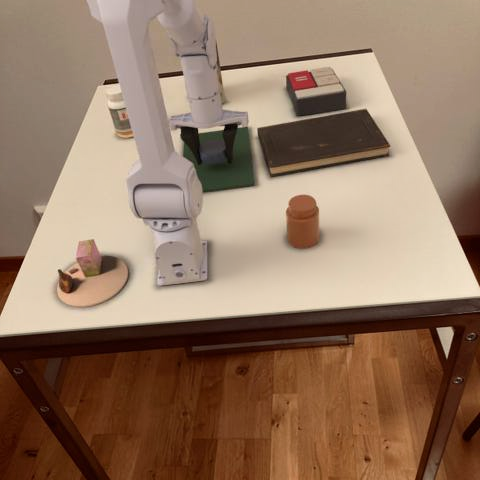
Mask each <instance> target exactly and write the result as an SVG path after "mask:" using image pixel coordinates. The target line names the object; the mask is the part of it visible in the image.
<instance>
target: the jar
mask: <svg viewBox="0 0 480 480" xmlns="http://www.w3.org/2000/svg"><path fill="white" fill-rule="evenodd" d="M285 219H286V221H285V222H286V235H287V237H286V238H287V242H288V243H289V245H290V246H291V247H294V248H297V249H308V248H312V247H314V246H316V245H317V244H318V243H319V241H320V208H319V206H318V205H317V200H316V199H315V198H314V196H312V195H308V194H297V195H295V196H292V197H291V198H290V199H289V201H288V207H287V208H286V210H285Z"/></svg>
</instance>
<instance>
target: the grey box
mask: <svg viewBox="0 0 480 480" xmlns="http://www.w3.org/2000/svg"><path fill="white" fill-rule="evenodd" d="M285 83H286V84H285V85H286V91H287V92H288V96H289V98H290V101H291V102H292V107H293V110H294V113H295V116H297V117H300V116H306V115H313V114H319V113H324V112H331V111H337V110H344V109H346V108H347V90H346V89H345V87H344V85H343V84H342V82H341V81H340V79H339V77H338V76H337V74H336V72H335V71H334V69H333V67H331V66H324V67H319V68H312V69H310V71H309V70H307V69H306V70H300V71H293V72H289V73H287V75H285Z"/></svg>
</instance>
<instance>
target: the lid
mask: <svg viewBox="0 0 480 480" xmlns="http://www.w3.org/2000/svg"><path fill="white" fill-rule="evenodd" d="M199 155H200V159H201V160H202V161H203V162H205V163H218V162H221V161H223V160H225V159H226V158H227V153H226V147H225V142H224V141H223V140H210V141H206V142H204V143H203V144H201V145H200V147H199Z"/></svg>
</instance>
